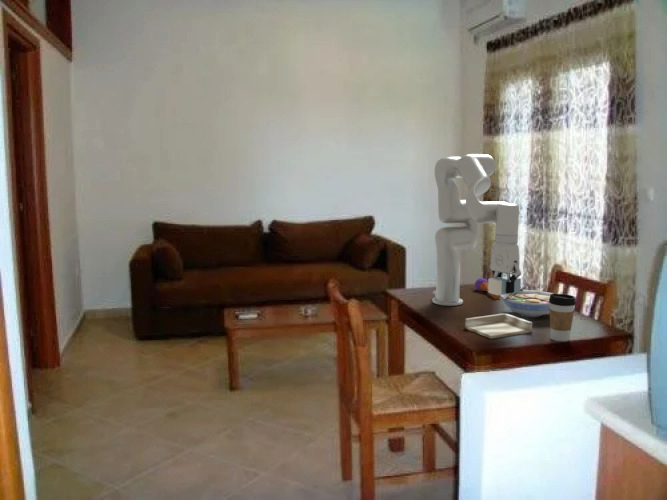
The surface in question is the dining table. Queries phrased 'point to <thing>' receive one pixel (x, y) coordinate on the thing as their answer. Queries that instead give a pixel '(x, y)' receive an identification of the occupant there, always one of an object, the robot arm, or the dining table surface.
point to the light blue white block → (502, 285)
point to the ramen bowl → (528, 302)
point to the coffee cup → (561, 316)
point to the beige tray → (498, 325)
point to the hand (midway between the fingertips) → (504, 290)
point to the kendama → (484, 287)
